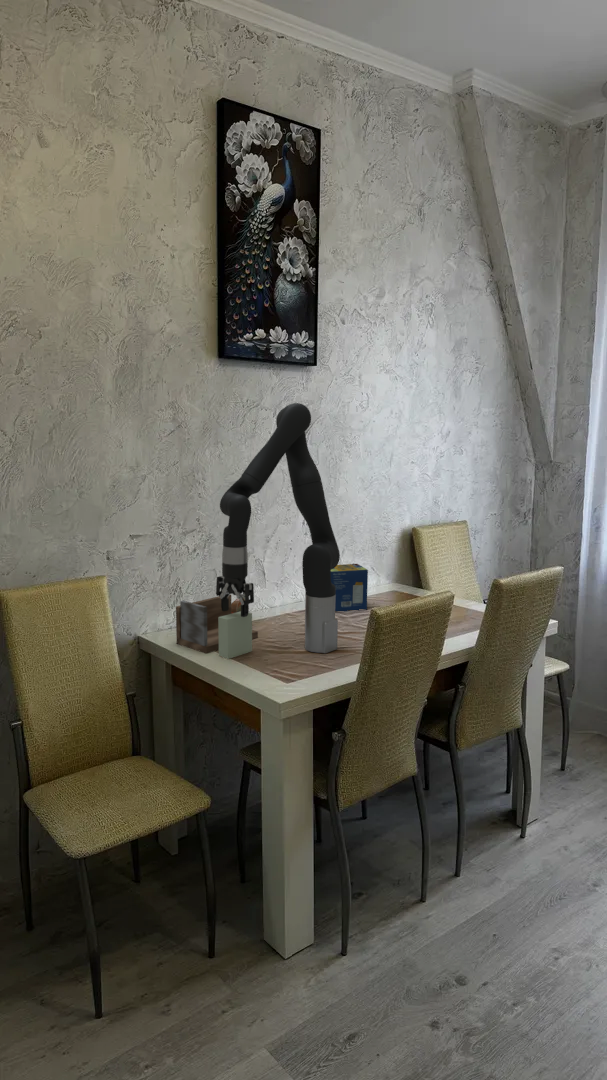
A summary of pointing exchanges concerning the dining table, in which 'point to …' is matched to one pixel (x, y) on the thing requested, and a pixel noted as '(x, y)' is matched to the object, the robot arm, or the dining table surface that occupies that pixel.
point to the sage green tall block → (235, 635)
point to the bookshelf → (201, 624)
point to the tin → (236, 606)
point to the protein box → (350, 587)
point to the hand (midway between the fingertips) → (234, 613)
